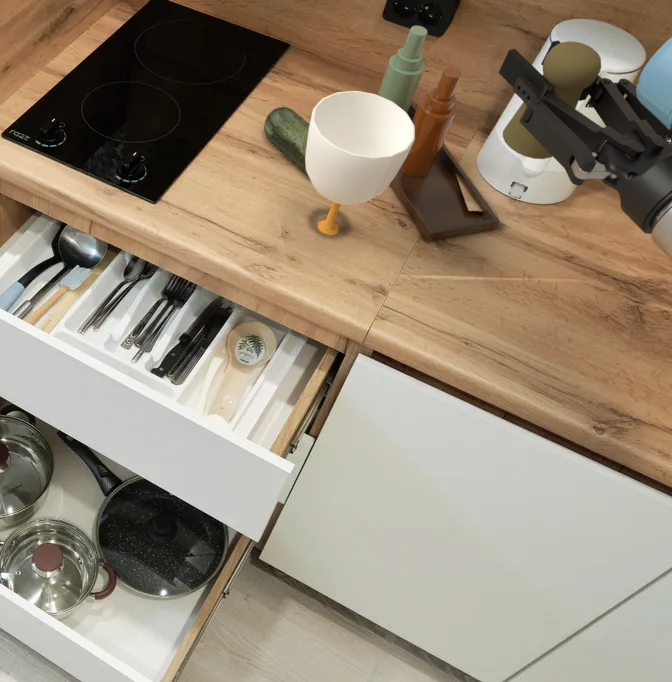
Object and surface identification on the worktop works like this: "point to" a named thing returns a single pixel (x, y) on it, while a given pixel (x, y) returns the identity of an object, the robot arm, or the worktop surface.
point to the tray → (442, 199)
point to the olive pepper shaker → (556, 91)
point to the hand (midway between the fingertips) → (528, 56)
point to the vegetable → (288, 134)
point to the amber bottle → (432, 124)
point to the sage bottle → (404, 70)
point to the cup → (355, 149)
